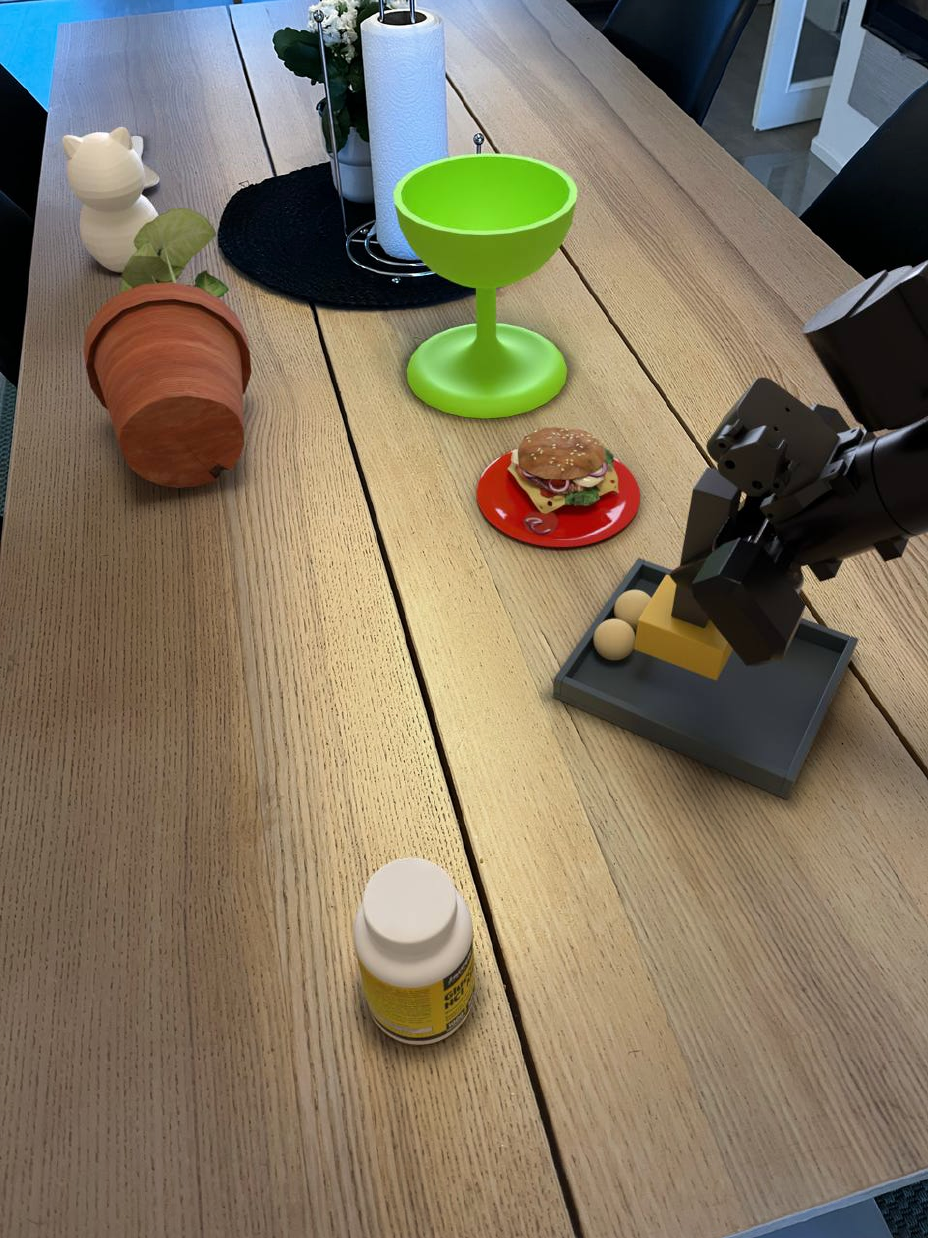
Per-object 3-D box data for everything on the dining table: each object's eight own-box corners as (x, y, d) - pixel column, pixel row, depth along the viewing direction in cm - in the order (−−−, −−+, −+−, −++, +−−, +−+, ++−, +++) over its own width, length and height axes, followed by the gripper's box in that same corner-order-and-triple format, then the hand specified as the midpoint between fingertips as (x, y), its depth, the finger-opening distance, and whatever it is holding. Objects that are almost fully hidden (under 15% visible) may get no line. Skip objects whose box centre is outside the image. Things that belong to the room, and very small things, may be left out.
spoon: (130, 200, 130) (127, 187, 129) (119, 139, 144) (116, 126, 142) (163, 195, 131) (160, 182, 129) (149, 134, 144) (146, 122, 143)
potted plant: (291, 496, 91) (235, 280, 113) (253, 357, 79) (199, 145, 100) (116, 538, 89) (92, 311, 111) (51, 402, 77) (38, 176, 98)
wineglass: (549, 428, 95) (557, 243, 82) (385, 405, 98) (368, 224, 85) (580, 338, 105) (592, 161, 92) (432, 319, 108) (423, 146, 95)
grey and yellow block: (741, 633, 71) (781, 474, 61) (716, 681, 68) (754, 523, 58) (661, 603, 73) (686, 446, 63) (633, 649, 71) (655, 491, 60)
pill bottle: (466, 1056, 56) (461, 968, 48) (356, 1039, 56) (332, 949, 48) (482, 949, 60) (480, 851, 52) (379, 935, 61) (361, 836, 53)
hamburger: (451, 470, 91) (449, 414, 86) (590, 430, 94) (595, 374, 90) (519, 569, 82) (521, 512, 77) (670, 521, 85) (680, 464, 81)
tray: (851, 657, 75) (858, 638, 73) (786, 800, 66) (793, 781, 65) (635, 576, 81) (638, 557, 79) (552, 697, 73) (553, 678, 71)
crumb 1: (622, 589, 78) (654, 613, 77) (601, 618, 77) (633, 642, 76) (635, 576, 75) (668, 601, 75) (613, 606, 74) (647, 632, 74)
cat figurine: (95, 288, 115) (52, 152, 104) (85, 239, 123) (44, 108, 112) (175, 273, 117) (141, 138, 106) (160, 226, 125) (127, 96, 114)
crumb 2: (602, 618, 76) (635, 642, 75) (580, 648, 75) (613, 673, 74) (615, 605, 73) (649, 630, 73) (592, 636, 72) (626, 662, 72)
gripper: (869, 284, 58) (664, 396, 70) (761, 464, 47) (541, 560, 59) (967, 436, 61) (755, 519, 73) (888, 639, 50) (653, 697, 62)
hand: (681, 566), depth 67 cm, fingers closed on grey and yellow block, 2 cm apart
